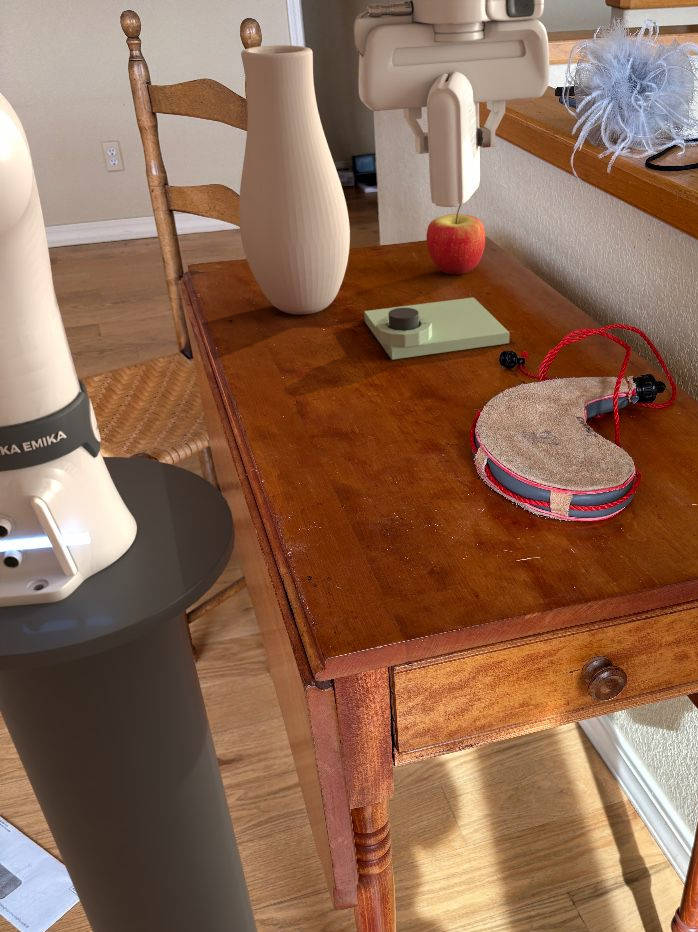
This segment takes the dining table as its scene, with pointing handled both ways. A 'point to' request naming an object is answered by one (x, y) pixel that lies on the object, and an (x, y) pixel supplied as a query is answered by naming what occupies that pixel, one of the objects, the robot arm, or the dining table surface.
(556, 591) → the dining table surface
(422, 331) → the scale
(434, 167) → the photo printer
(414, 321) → the button
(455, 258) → the apple
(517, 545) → the dining table surface
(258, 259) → the vase
